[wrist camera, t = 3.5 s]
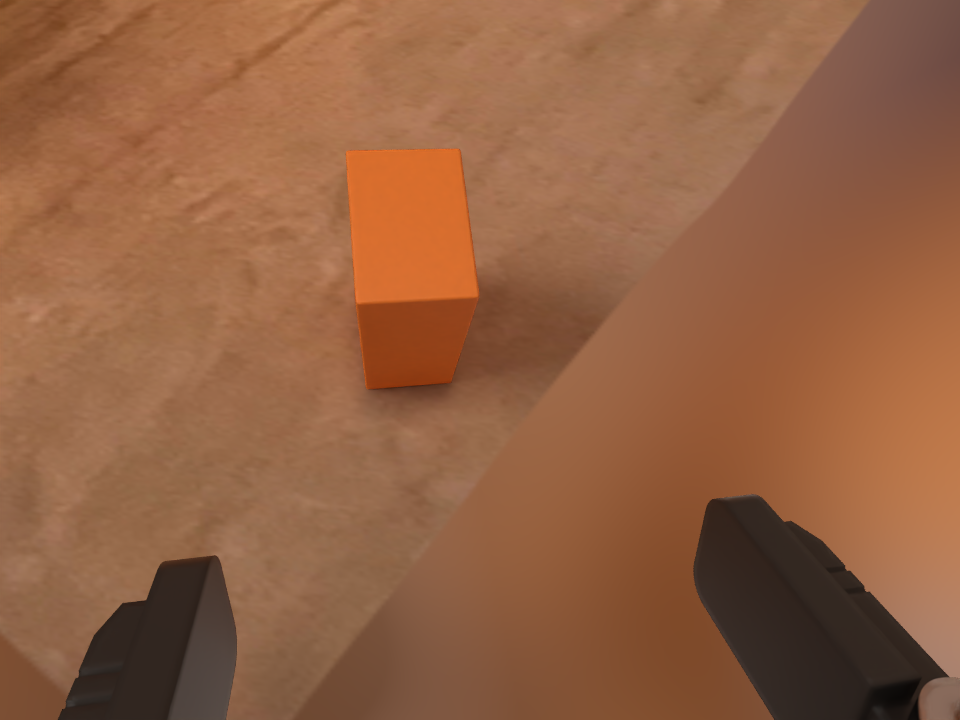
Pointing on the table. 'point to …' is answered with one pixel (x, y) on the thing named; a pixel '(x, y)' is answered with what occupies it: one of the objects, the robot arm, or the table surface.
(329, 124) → the table surface
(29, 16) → the table surface
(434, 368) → the block
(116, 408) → the table surface
